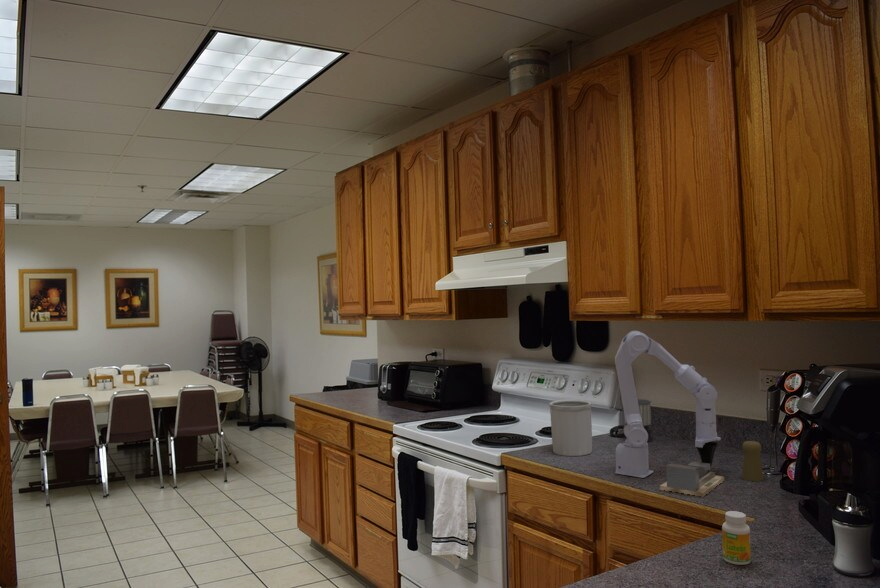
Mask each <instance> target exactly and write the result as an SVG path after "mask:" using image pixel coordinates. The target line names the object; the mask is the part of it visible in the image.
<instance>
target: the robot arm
mask: <svg viewBox="0 0 880 588" xmlns="http://www.w3.org/2000/svg"><path fill="white" fill-rule="evenodd" d="M643 353H645V354H647V355H653V356H655V357H656V358H657V359H658V360H660V361H661V362H662V363H663V364H664V365H665V366H667V367H668V368H669V369H671V370H672V371H673V373H674V379H675V380H677V382H679V384H681V385H682V386H683V387H684V388H685V389H687V390H688V391H689V392H690V393H692V395H693V396H694V397H695V431H696V432H695V441H694V446H695V448H696V449H697V451H698V454H699V456H700V459H701V462H702V463H709V464H710V468H712V466H713V461H714V455H715V453H716V450H717V447H718V445H719V443H718V442H716V441H721V439H722V438H721V437H720V436H718V432H717V412H716V411H717V410H716V400H717V398H718V395H719V393H718V392H717V390H716V387H715V386H714V385H712V384H710V383H709V382H708V379H707V377H703V376H702V375H700V374H699V373H698V372H697V371H696V368H695V366H694V365H689V364H682V363H680V362H679V361H678V360H677V359H676V358H675V357H674V356H673V355H672V354H671V353H670V352H668V351H667V349H665V348H664V346H662V344H660V343H659V342H657V341H655V339H652V338H651V337H649V336H648V335H647V334H645V333H643V332H641V331H639V330H631V331H630V332H628V333H627V334H626V335H625V336H624V337H623V338H622V340H621V342H620V345H619V347H618V350H617V352H616V354H615V356H614V363H615V364H614V365H615V368H616V375H617V380H618V385H619V391H620V397H621V403H622V409H623V413H624V425H623V426H624V429H623V433H624V434H625V436H624V437H626V439H625V440H624V441H623V442H620V443H618V444H617V445H616V448H615V472H614V474H616V475H617V474H618V475H621V476H622V475H624V476H629V477H630V476H631V477H635V478H641V479H645V478H646V477H648V476H650V475H652V474H653V473H655V472H654V470H652V469H649V468H650V466H649V442H647V441H648V433H647V431H646V430H645V429H644V427H643V423H642V419H641V415H640V411H639V405H638V400H637V399H638V394H637V390H636V384H635V380H634V379H635V378H634V373H633V368H632V363H633V362H634V361H635V360H636V358H637V357H638V356H640V355H642V354H643Z"/></svg>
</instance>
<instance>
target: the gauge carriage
mask: <svg viewBox="0 0 880 588" xmlns="http://www.w3.org/2000/svg"><path fill="white" fill-rule="evenodd" d="M686 466H692V467H699V479H701V478H702V477H704V476H705V475H707V474H708V473H709V472H715V474H717V473H718V471H717V470H712V469H711V467H710V464H709V463H702V461H701V462H700V461H694V460H693V461H691V462H689V463H688V464H687V465H686Z"/></svg>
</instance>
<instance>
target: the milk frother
mask: <svg viewBox="0 0 880 588" xmlns="http://www.w3.org/2000/svg"><path fill="white" fill-rule="evenodd" d="M637 400H638V405H639V411H640V415H641V419H642V423H643V427H644V429H645V430H646V431H647V433H648V441H647V442H646V443H649V442H652V441H653V438H652V437H653V436H652V435H653V434H652V421H651V420H652V419H651V417H652V415H651V414H652V413H651V403H652V401H651V400H649V399H645V398H644V399H641V398H637ZM624 426H625V425H622V424H621V425H615V426H613V427H611V428H610V429H609V434H610V435H611V436H612V437H616V438H622V437H626V436H625V434H624V432H623V433H618V432H619V431H620V430H624Z"/></svg>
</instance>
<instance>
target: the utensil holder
mask: <svg viewBox="0 0 880 588" xmlns="http://www.w3.org/2000/svg"><path fill="white" fill-rule="evenodd" d="M548 405H549V409H550V410H549V411H550V426H551V427H550V428H551V444H552V445H551V446H552V451H553V453H554V454H555V455H559V456H566V457H580V456H587V455H590V454H591V453H592V451H593V447H592V446H593V427H592V426H593V425H592V424H593V423H592V407H593V406H592V402H591V401H589V400H586V399H573V398H572V399H570V398H569V399H559V400H557V399H556V400H552V401H550V402H549V404H548Z"/></svg>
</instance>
